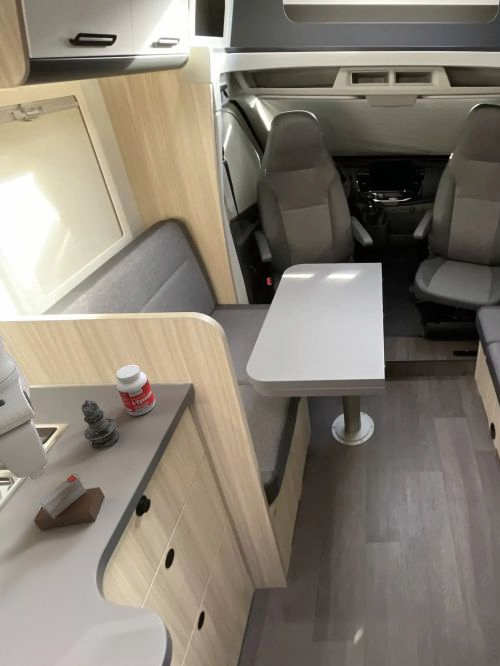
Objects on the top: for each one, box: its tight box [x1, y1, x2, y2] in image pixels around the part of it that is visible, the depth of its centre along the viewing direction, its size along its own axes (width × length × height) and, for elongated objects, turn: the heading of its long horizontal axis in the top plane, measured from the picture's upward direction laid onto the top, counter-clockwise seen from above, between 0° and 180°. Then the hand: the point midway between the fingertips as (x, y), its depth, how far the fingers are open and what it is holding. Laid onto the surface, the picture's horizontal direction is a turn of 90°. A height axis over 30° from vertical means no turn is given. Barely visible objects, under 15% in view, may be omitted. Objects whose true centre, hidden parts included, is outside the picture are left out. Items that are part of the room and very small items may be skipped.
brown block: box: [33, 486, 106, 532], centre depth 81 cm, size 9×5×3 cm, turn 101°
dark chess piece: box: [81, 399, 120, 451], centre depth 93 cm, size 6×6×12 cm
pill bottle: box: [115, 364, 156, 417], centre depth 101 cm, size 6×6×11 cm
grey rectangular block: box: [38, 474, 86, 519], centre depth 79 cm, size 6×2×4 cm, turn 153°
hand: (28, 457), depth 69 cm, fingers open, 8 cm apart
